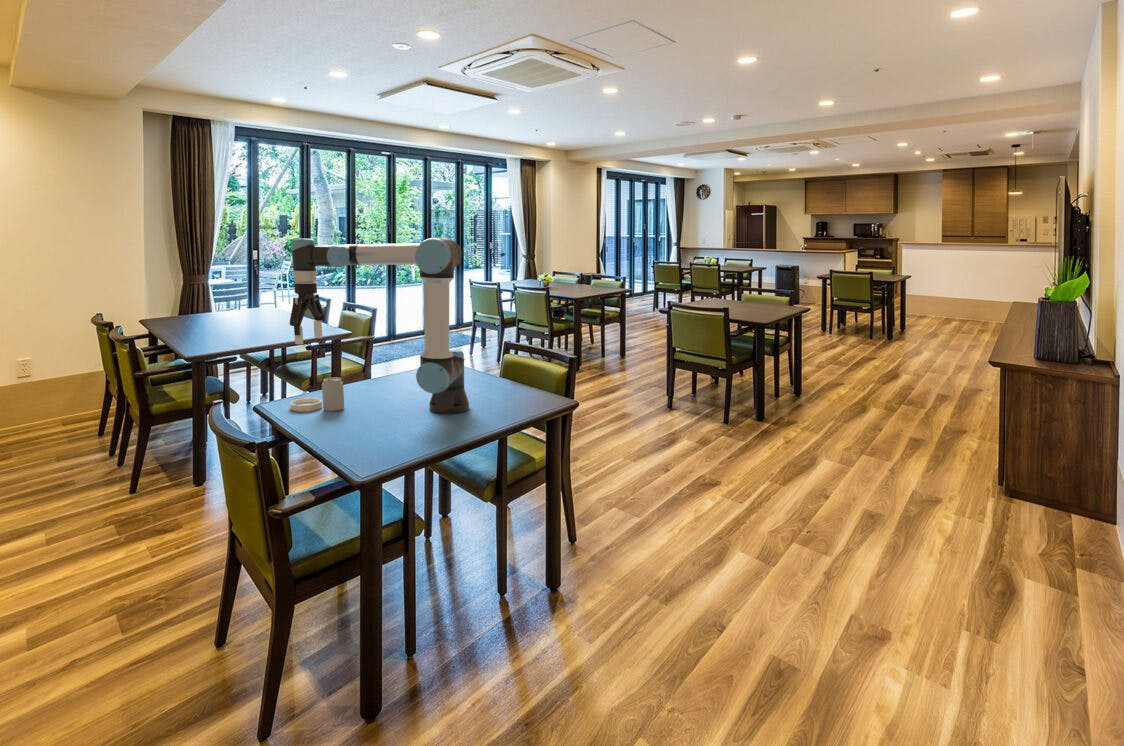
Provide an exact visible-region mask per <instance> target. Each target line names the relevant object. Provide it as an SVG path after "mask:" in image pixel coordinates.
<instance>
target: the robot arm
mask: <svg viewBox="0 0 1124 746" xmlns="http://www.w3.org/2000/svg"><path fill="white" fill-rule="evenodd" d="M291 256H292V257H291V259H292V270H293V273H292V276H293V282H295V283H293V285H294V286H293V288H294V294H296V295H298V296H297V297H293V298H292V308H291V313H290V318H289V325H290V326H291V327H293V334H294V335H293V336H294V344H295V345H304V333H303V326H302V322H303V319H304V317H305V313H306V311H308V310H309V311H310V313H311V315H312V317H313V318H314V320H313V334H314V335H313V337H314V338H315V339H323V330H322V329H323V328H322V327H323V326H322V321H324V320H325V316H326V315H325V313H324V310H323V307H322V304H321V301H320V295H319V294H317V293H318V284H317V283H316V282H317V280H318V279H317V269H316V267H325V268H326V267H327V268H328V267H330V268H344V267H346V266H365V265H366V266H368V265H369V266H374V265H376V266H379V265H380V266H385V265H387V266H390V265H393V266H395V265H396V266H398V265H399V266H402V265H406V266H407V265H408V266H409V265H410V266H412V265H413V266H414V265H415V266H416V265H417V267H418V268H419V278H420V279H421V280H422V281H423V283H424V284H423V285H424V286H423V287H424V288H423V289H424V292H423V295H424V297H423V298H424V314H423V315H424V350H423V351H422V352H421V353H420V356H419V357H420V359H419V361H420V362H419V364H420V366H419V367H418V368H417V370H416V374H415V378H416V379H415V380H416V383H417V385H418V386H419V387H420V388H421V389H422V390H423V391H425V392H426V393H428V394H431V396H430V397H431V398H430V401H429V410H430V411H431V412H433V413H435V412H436V413H435V414H442V413H445V414H447V413H453V414H458V413H457V412H460V413H464V412H466V410H467V409H468V408H469V409H470V401H469V398H468V395H467V393H466V389H465V354H464V352H463V351H462V350H458V349H450V283H451V282H452V280H454V279H455V268H456V267H457V266H458V265H459V264H460V262H461V260H462V259H461V258H462V250H461V248H460V246H459V244H458V243H457V242H456V241H454V240H453V239H451V238H448V237H430V238H427V239H424V240H423V241H421V242H420V243H372V244H370V243H368V244H365V243H364V244H363V243H362V244H361V243H360V244H357V243H356V244H355V243H354V244H353V243H351V244H350V243H347V244H316V243H315V241H314V239H313V238H293V239H292V240H291ZM469 409H468V410H469ZM468 410H467V411H468ZM463 411H464V412H463ZM445 414H444V415H445Z"/></svg>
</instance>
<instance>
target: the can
mask: <svg viewBox="0 0 1124 746" xmlns="http://www.w3.org/2000/svg"><path fill="white" fill-rule="evenodd" d="M321 393H322V408H323V409H324V410H325V411H326V412H331V413H332V412H340V411H342V410H343V409H344V408H345V396H344V394H345V393H344V382H343V381H342V378H341V377H336V376H335V377H326V378H324V379H323V381H322V383H321Z"/></svg>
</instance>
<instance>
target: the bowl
mask: <svg viewBox="0 0 1124 746" xmlns="http://www.w3.org/2000/svg"><path fill="white" fill-rule="evenodd" d="M322 408H323V399H322V398H317V397H304V398H303V397H301V398H297V399H293V400H291V401H290V410H291V411H292V412H298V413H304V412H305V413H306V412H314V411H318V410H320V409H322Z"/></svg>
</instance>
